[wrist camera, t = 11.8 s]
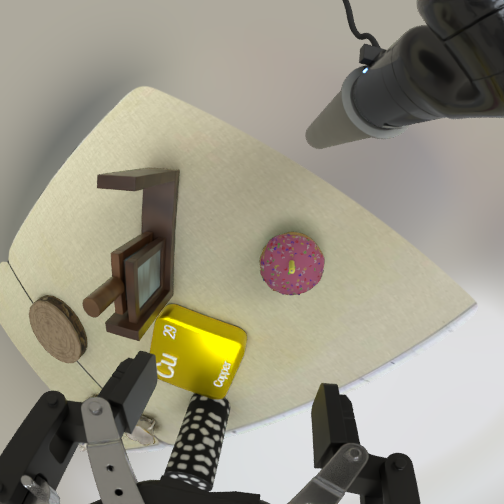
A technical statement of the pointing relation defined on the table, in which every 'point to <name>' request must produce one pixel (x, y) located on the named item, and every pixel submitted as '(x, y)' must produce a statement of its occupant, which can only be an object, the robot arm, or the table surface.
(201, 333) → the element tile
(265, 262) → the cupcake
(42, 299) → the brown flat banded disc
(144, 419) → the chinaware
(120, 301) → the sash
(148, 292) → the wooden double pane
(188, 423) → the spotted tube
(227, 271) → the table surface
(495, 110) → the robot arm
